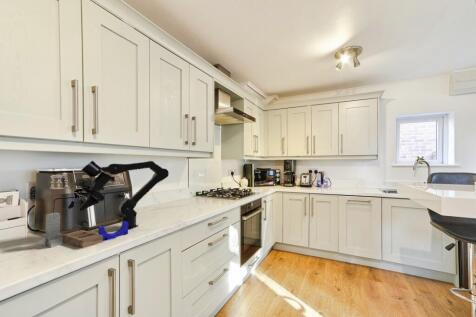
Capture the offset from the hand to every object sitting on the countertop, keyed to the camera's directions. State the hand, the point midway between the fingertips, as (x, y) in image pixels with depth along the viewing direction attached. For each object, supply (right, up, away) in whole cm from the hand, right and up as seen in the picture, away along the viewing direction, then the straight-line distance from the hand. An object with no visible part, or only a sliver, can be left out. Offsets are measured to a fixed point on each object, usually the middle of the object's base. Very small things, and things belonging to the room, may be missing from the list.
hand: (74, 209), depth 101 cm
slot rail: (+7, -13, -4) cm, 15 cm away
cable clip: (+17, -14, +3) cm, 22 cm away
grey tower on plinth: (-4, -13, -7) cm, 16 cm away
